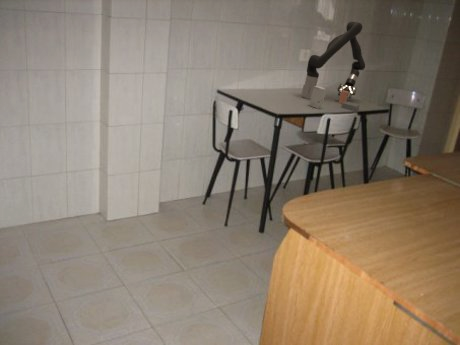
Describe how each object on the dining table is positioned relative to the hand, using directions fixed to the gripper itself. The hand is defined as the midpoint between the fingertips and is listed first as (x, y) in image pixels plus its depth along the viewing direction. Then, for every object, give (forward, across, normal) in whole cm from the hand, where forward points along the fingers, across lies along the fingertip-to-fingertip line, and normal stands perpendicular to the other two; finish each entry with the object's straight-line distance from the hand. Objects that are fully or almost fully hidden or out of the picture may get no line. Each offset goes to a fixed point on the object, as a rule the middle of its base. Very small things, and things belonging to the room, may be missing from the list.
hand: (343, 96), depth 372 cm
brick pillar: (+4, 0, +4) cm, 6 cm away
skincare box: (+31, -10, -23) cm, 40 cm away
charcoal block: (+12, +9, -3) cm, 15 cm away
